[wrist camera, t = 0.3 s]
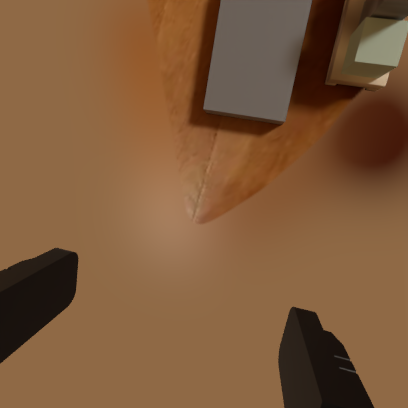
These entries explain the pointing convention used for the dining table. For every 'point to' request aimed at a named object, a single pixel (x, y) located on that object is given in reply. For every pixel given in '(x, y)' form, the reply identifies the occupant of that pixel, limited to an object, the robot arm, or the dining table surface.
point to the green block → (375, 47)
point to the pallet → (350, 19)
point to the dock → (256, 58)
